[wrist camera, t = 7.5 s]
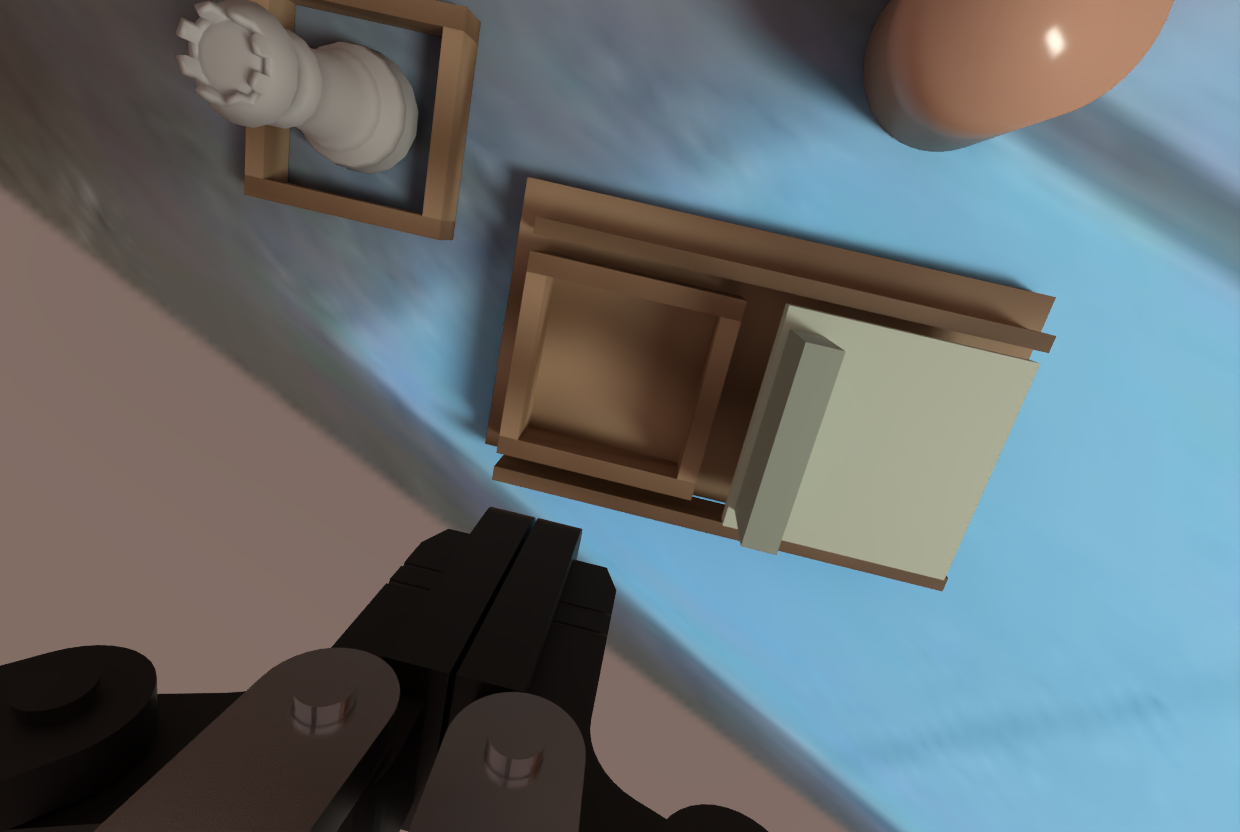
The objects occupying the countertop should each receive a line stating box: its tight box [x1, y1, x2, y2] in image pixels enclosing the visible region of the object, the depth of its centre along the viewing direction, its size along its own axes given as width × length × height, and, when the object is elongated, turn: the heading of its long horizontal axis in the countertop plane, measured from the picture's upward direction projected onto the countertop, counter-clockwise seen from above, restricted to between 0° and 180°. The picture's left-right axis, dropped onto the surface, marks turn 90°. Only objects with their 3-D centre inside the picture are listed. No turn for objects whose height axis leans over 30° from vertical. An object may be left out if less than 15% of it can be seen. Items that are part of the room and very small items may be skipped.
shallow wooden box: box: [485, 177, 1056, 591], centre depth 24 cm, size 12×20×3 cm, turn 78°
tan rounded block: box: [863, 0, 1174, 152], centre depth 18 cm, size 6×6×6 cm
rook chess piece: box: [175, 0, 418, 174], centre depth 20 cm, size 4×4×8 cm
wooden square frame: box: [244, 0, 481, 240], centre depth 23 cm, size 8×8×2 cm
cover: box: [722, 303, 1040, 580], centre depth 20 cm, size 8×8×4 cm
